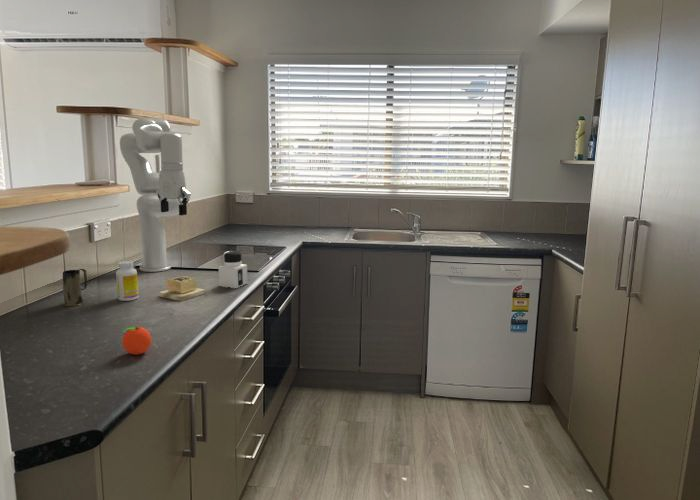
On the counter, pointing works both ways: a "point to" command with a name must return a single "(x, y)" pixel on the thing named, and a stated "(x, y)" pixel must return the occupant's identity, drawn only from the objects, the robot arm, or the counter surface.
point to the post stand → (184, 295)
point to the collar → (181, 284)
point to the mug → (73, 287)
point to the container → (232, 270)
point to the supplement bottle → (127, 281)
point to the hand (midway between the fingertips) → (173, 213)
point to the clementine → (136, 340)
